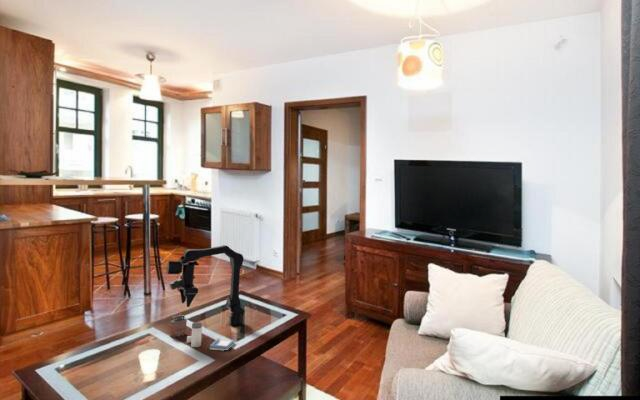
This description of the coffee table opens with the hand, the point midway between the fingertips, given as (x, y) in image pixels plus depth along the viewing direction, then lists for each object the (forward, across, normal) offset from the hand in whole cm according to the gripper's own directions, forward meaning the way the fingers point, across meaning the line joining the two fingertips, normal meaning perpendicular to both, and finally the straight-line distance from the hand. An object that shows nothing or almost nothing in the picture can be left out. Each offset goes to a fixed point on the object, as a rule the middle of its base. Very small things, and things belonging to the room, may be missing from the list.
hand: (185, 304), depth 180 cm
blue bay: (+15, +25, +11) cm, 31 cm away
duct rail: (+15, +13, +2) cm, 20 cm away
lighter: (+15, +1, -2) cm, 15 cm away
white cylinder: (+15, +18, +1) cm, 24 cm away
